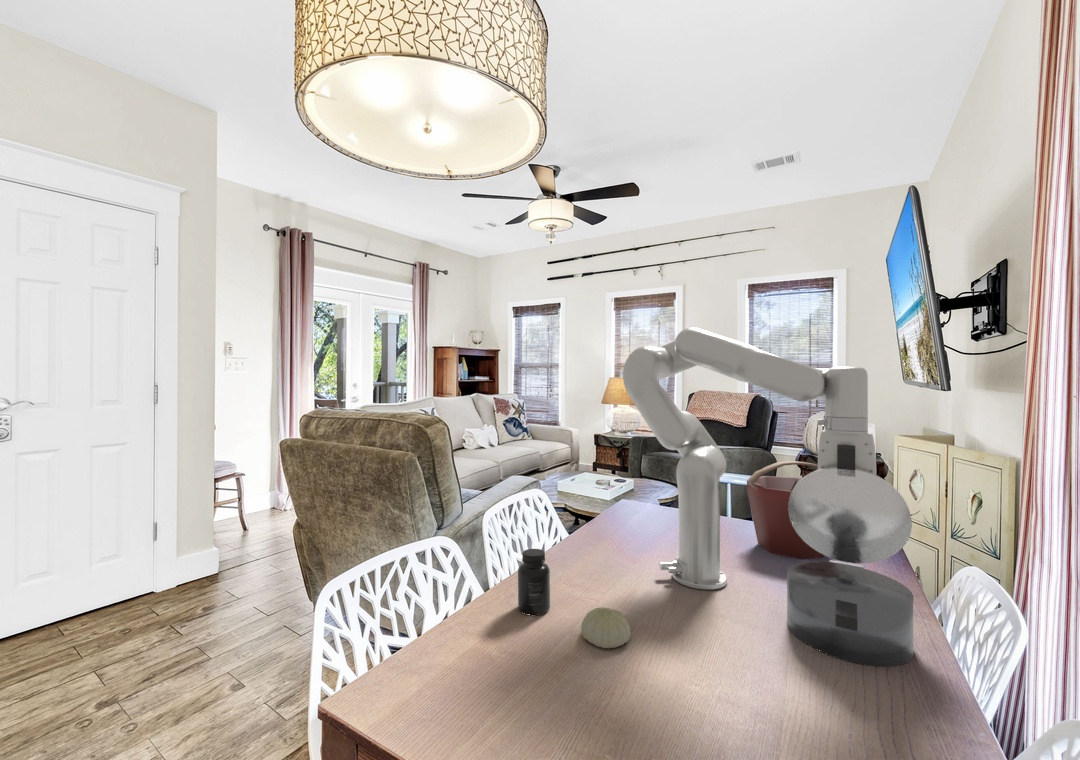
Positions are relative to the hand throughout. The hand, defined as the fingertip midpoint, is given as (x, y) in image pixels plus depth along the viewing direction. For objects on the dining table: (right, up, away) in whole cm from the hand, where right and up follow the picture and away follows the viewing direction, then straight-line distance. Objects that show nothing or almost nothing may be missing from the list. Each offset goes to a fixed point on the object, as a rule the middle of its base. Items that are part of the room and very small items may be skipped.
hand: (846, 512), depth 98 cm
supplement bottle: (-66, -21, +1) cm, 69 cm away
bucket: (+8, -21, +36) cm, 42 cm away
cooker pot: (-7, -21, -11) cm, 25 cm away
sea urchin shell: (-52, -21, -10) cm, 57 cm away
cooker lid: (-2, +2, -4) cm, 5 cm away
